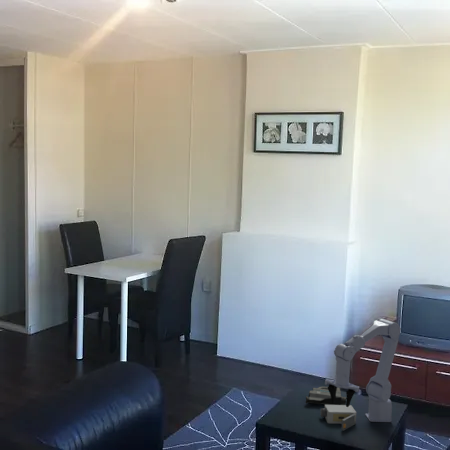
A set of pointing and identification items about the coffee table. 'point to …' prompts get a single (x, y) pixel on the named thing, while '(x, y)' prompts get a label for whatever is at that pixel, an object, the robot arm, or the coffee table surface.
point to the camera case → (336, 413)
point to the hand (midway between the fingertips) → (340, 404)
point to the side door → (348, 422)
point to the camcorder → (324, 396)
